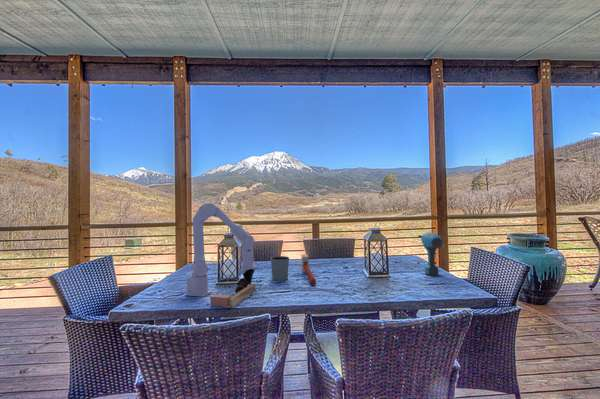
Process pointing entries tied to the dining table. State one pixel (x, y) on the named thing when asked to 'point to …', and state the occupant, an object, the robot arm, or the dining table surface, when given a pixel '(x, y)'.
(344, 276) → the dining table surface
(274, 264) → the grey green pot
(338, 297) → the dining table surface
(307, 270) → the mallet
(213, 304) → the stop block
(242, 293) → the fence rail
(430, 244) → the power drill
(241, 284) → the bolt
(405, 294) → the dining table surface
